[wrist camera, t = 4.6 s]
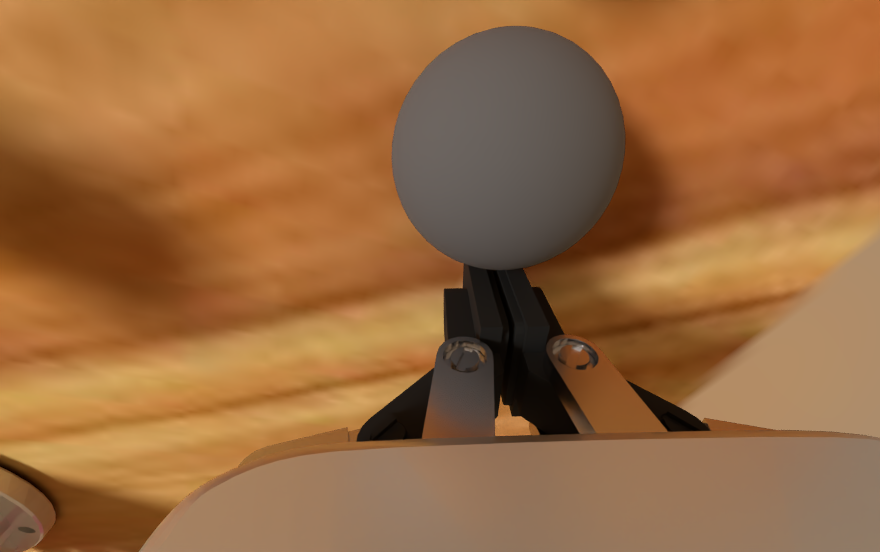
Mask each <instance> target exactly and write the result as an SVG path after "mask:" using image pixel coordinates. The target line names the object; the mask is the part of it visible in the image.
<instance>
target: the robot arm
mask: <svg viewBox="0 0 880 552" xmlns="http://www.w3.org/2000/svg"><path fill="white" fill-rule="evenodd" d="M444 335H445V342H444V343H443V344H442V345H441V346H440V347H439V349H438V352H437V356H436V362H435V367H434V368H433V369H432V370H431V371H429V372H428V373H427V374H426V375H424V376H423V377H422V378H421V379H419V380H418V381H417V382H415V383H414V384H413V385H412V386H410V387H409V388H408V389H407V390H405V391H404V392H403V393H402V394H400V395H399V396H398V397H396V398H395V399H394V400H393V401H391V402H390V403H389V404H388V405H386V406H385V407H384V408H383V409H381V410H380V411H379V412H377V413H376V414H375V415H374V416H372V417H371V418H370V419H369V420H368V421H367V422H366V423H365V424H364V425H363V426H362V428H361V429H357V430H353V431H349V432H348V428H347V427H346V428H342V429H338V430H334V431H330V432H325V433H321V434H317V435H313V436H309V437H304V438H300V439H296V440H292V441H288V442H283V443H279V444H275V445H271V446H267V447H264V448H262V449H259V450H257V451H255V452H253V453H252V454H250V455H249V456H248V457H246V458H245V459H244V460H243V461H242V462H241V463H240V465H239V466H238V467H236V468H234V469H232V470H230V471H227V472H225V473H223V474H221V475H219V476H217V477H216V478H214V479H212V480H210V481H208V482H207V483H205V484H203V485H202V486H200V487H199V488H197V489H196V490H195V491H193V492H192V493H190V494H189V495H188V496H186V497H185V498H184V499H183V500H182V501H181V502H180V503H179V504H178V505H177V506H176V507H175V508H174V509H173V510H172V511H171V512H170V513H169V514H168V515H167V516H166V517H165V518H164V520H163V521H162V522H161V523H160V524H159V526H158V527H157V528H156V529H155V531H154V532H153V533H152V534H151V536H150V537H149V538H148V540H147V541H146V542H145V544H144V545H143V546H142V548H141V549H140V550H139V552H880V438H878V437H872V436H866V435H859V434H849V433H839V432H824V431H799V430H797V431H796V430H773V429H766V428H760V427H755V426H749V425H742V424H737V423H731V422H725V421H719V420H713V419H707V418H704V420H703V421H702V422H701V421H700V420H699V419H698V418H696V417H695V416H693V415H691V414H690V413H688V412H687V411H685V410H683V409H681V408H679V407H677V406H676V405H674V404H672V403H670V402H668V401H666V400H664V399H662V398H660V397H658V396H656V395H654V394H652V393H650V392H648V391H646V390H644V389H643V388H641V387H639V386H637V385H635V384H633V383H631V382H629V381H627V380H625V379H624V378H623V376H622V375H621V374H620V373H619V371H618V370H617V369H616V368H615V367H614V365H613V364H612V363H611V362H610V361H609V359H608V358H607V357H606V356H605V355H604V353H603V352H602V351H601V350H600V349H599V348H598V347H597V346H596V345H595V344H594V343H592V342H590V341H589V340H587V339H585V338H582V337H579V336H575V335H564V333H563V331H562V329H561V327H560V325H559V323H558V321H557V319H556V317H555V315H554V313H553V311H552V309H551V307H550V305H549V303H548V301H547V299H546V297H545V295H544V293H543V291H542V290H541V288H539V287H531V285H530V283H529V281H528V279H527V277H526V274H525V272H524V270H523V268H519V269H513V270H489V269H482V268H477V267H473V266H470V265H467V264H464V272H463V288H455V289H444ZM500 396H501V397H502V402H503V404H504V405H509V406H510V411H511V415H512V416H522V417H523V418H524V419H526V420H527V421H529V429H530V433H531V435H523V436H495V418H496V417H497V416H498V410H499V403H500ZM55 519H56V513H55V510H54V508H53V506H52V503H51V502H50V501H49V500H48V499H47V498H46V496H45V495H44V494H43V493H42V492H40V491H39V490H38V489H37V488H35V487H34V486H33V485H32V484H30V483H29V482H27V481H25V480H24V479H22V478H20V477H19V476H17V475H15V474H14V473H12V472H10V471H8V470H6V469H3V468H1V467H0V552H23V551H26V550H28V549H30V548H32V547H34V546H36V545H37V544H38V543H39V542H40V541H41V540H42V539H43V538H44V536H45V535H46V534H47V533H48V532H49V530H50V529H51V528H52V526H53V525H54V523H55Z"/></svg>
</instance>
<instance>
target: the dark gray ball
mask: <svg viewBox="0 0 880 552" xmlns="http://www.w3.org/2000/svg"><path fill="white" fill-rule="evenodd" d="M624 154H625V128H624V120H623V114H622V111H621V107H620V103H619V100H618V97H617V95H616V92H615V90H614V88H613V86H612V84H611V81H610V80H609V78H608V77H607V75H606V74H605V72H604V71H603V69H602V68H601V66H600V65H599V64H598V63H597V62H596V61H595V60H594V59H593V58H592V57H591V56H590V55H589V54H588V53H587V52H586V51H584V50H583V49H582V48H580V47H579V46H578V45H576V44H575V43H574V42H572V41H570V40H568V39H566V38H564V37H562V36H560V35H558V34H556V33H553V32H550V31H546V30H542V29H538V28H534V27H527V26H505V27H498V28H493V29H489V30H486V31H482V32H479V33H476V34H473V35H471V36H469V37H467V38H465V39H463V40H461V41H459V42H457V43H455V44H454V45H452V46H451V47H449V48H448V49H446V50H445V51H444V52H442V53H441V54H439V55H438V56H437V57H436V58H435V59H434V60H433V61H432V62H431V63H430V64H429V65H428V66H427V67H426V68H425V70H424V71H423V72H422V73H421V75H420V76H419V77H418V78H417V80H416V81H415V82H414V84H413V86H412V87H411V89H410V91H409V92H408V94H407V96H406V98H405V100H404V102H403V105H402V107H401V109H400V112H399V115H398V118H397V122H396V125H395V130H394V136H393V142H392V168H393V176H394V181H395V185H396V190H397V193H398V195H399V198H400V201H401V204H402V206H403V208H404V210H405V212H406V214H407V216H408V218H409V219H410V221H411V222H412V224H413V225H414V226H415V228H416V229H417V230H418V231H419V233H420V234H421V235H422V236H423V237H424V238H425V239H426V240H427V241H428V242H429V243H430V244H431V245H433V246H434V247H435V248H436V249H438V250H439V251H440V252H442V253H444V254H445V255H447V256H449V257H450V258H452V259H454V260H456V261H459V262H461V263H464V264H467V265H470V266H473V267H477V268H482V269H489V270H513V269H519V268H525V267H530V266H533V265H536V264H539V263H542V262H544V261H547V260H549V259H551V258H553V257H555V256H557V255H559V254H561V253H562V252H564V251H566V250H567V249H568V248H570V247H571V246H573V245H574V244H575V243H577V242H578V241H579V240H580V239H581V238H582V237H583V236H584V235H585V234H586V233H587V232H588V231H590V230H591V228H592V227H593V226H594V225H595V223H596V222H597V221H598V220H599V219H600V217H601V216H602V214H603V213H604V211H605V209H606V208H607V206H608V204H609V203H610V201H611V198H612V196H613V194H614V192H615V190H616V187H617V184H618V181H619V178H620V174H621V171H622V167H623V160H624Z"/></svg>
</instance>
